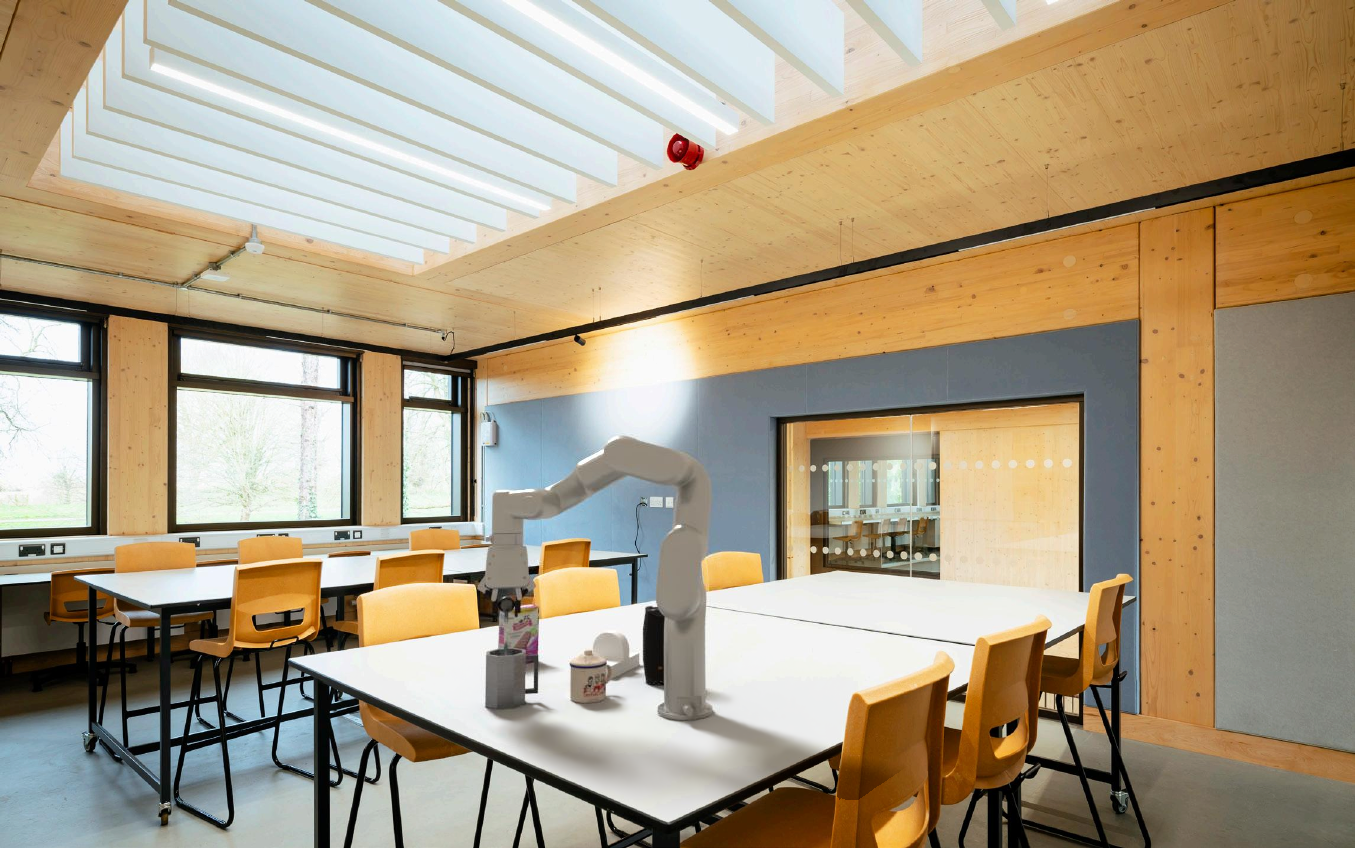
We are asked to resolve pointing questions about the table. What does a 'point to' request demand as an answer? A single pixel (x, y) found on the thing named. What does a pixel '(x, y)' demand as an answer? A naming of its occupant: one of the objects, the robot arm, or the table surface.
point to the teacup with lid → (589, 678)
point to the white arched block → (615, 652)
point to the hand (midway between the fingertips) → (506, 616)
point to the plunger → (506, 617)
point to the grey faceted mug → (508, 678)
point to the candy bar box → (521, 629)
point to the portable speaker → (653, 645)
